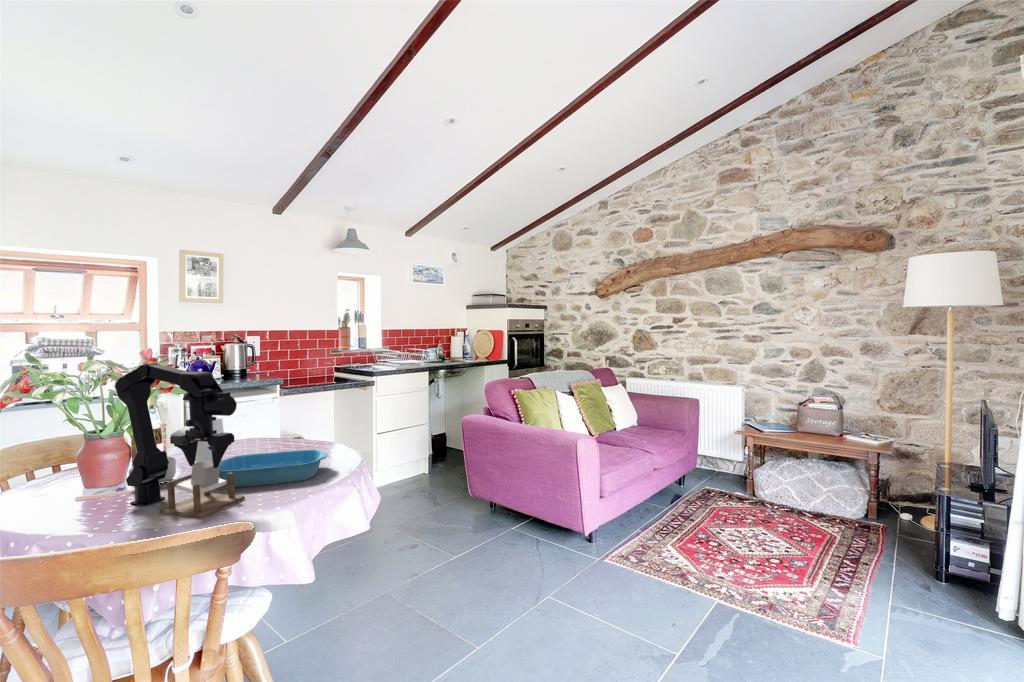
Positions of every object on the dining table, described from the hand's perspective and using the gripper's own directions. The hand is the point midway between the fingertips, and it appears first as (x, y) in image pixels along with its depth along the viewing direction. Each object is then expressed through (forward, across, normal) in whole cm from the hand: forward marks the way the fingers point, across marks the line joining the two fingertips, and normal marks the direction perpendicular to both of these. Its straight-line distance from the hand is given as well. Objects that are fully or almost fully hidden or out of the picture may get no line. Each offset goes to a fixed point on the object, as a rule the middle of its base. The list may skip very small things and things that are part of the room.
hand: (203, 466), depth 148 cm
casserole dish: (+12, -1, +28) cm, 31 cm away
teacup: (+12, -38, +13) cm, 42 cm away
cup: (+12, -22, +21) cm, 33 cm away
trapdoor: (+6, -1, 0) cm, 6 cm away
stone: (+5, 0, 0) cm, 5 cm away
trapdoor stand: (+12, -1, 0) cm, 12 cm away
